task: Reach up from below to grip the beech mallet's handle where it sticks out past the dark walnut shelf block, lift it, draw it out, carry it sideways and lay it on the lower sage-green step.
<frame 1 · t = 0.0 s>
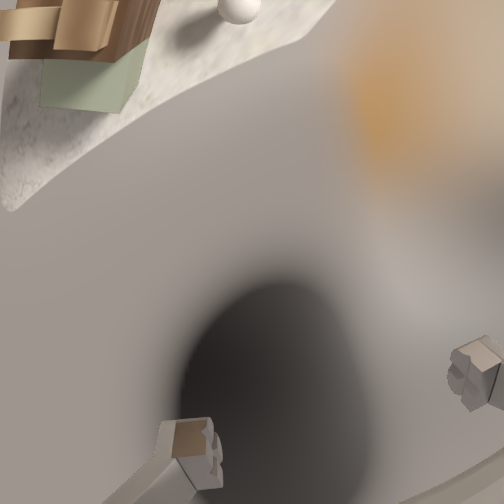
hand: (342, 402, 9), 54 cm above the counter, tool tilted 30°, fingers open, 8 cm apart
walnut shelf: (121, 11, 38), on the counter
sage step: (110, 57, 43), on the counter
lightbulb: (233, 5, 41), on the counter
beech mallet: (9, 22, 17), point 26 cm above the counter, touching walnut shelf
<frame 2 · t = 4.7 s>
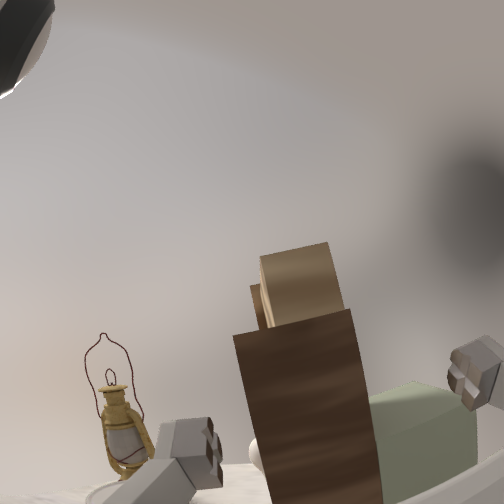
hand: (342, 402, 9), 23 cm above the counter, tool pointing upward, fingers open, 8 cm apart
lightbulb: (280, 495, 38), on the counter
lantern: (143, 495, 41), on the counter
beech mallet: (293, 322, 20), point 26 cm above the counter, touching walnut shelf
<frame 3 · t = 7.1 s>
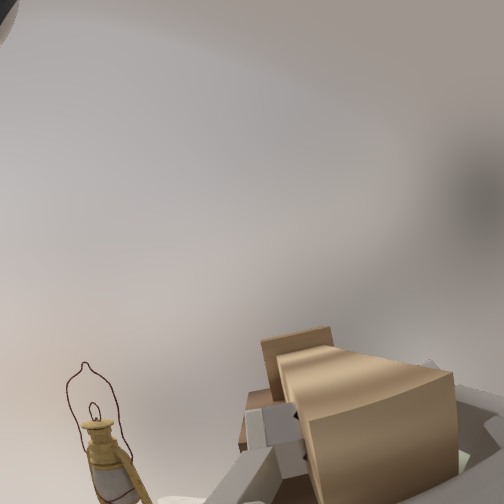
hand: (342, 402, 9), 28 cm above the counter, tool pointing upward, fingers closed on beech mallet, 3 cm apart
beech mallet: (331, 427, 12), point 26 cm above the counter, touching gripper, walnut shelf
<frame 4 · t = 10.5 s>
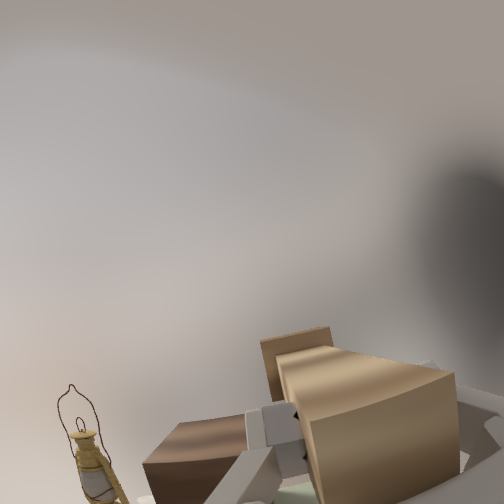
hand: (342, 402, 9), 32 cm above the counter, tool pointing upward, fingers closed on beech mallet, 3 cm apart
beech mallet: (331, 427, 12), point 30 cm above the counter, touching gripper
when the fingers open (19 cm above the counter, at t = 14.0 s): beech mallet drops 2 cm, resting on sage step.
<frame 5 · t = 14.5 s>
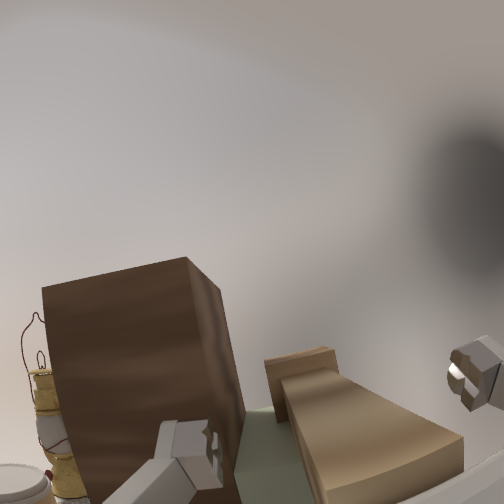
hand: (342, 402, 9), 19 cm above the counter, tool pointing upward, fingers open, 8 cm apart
lantern: (75, 489, 35), on the counter
beech mallet: (337, 458, 11), point 16 cm above the counter, touching sage step
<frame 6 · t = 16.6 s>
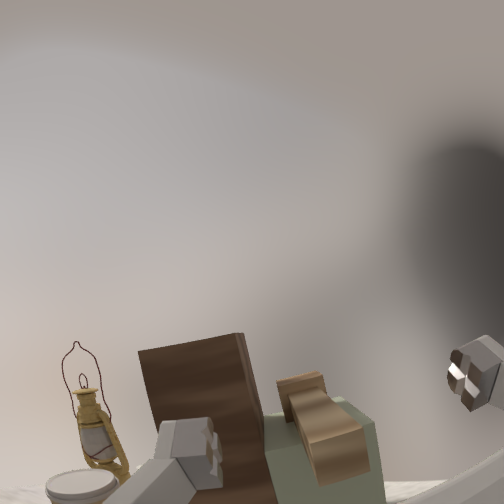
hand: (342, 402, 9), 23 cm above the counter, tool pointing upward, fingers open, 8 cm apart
lantern: (114, 489, 44), on the counter
beech mallet: (322, 440, 21), point 16 cm above the counter, touching sage step
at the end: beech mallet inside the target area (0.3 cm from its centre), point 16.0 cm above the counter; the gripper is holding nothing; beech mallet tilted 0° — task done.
